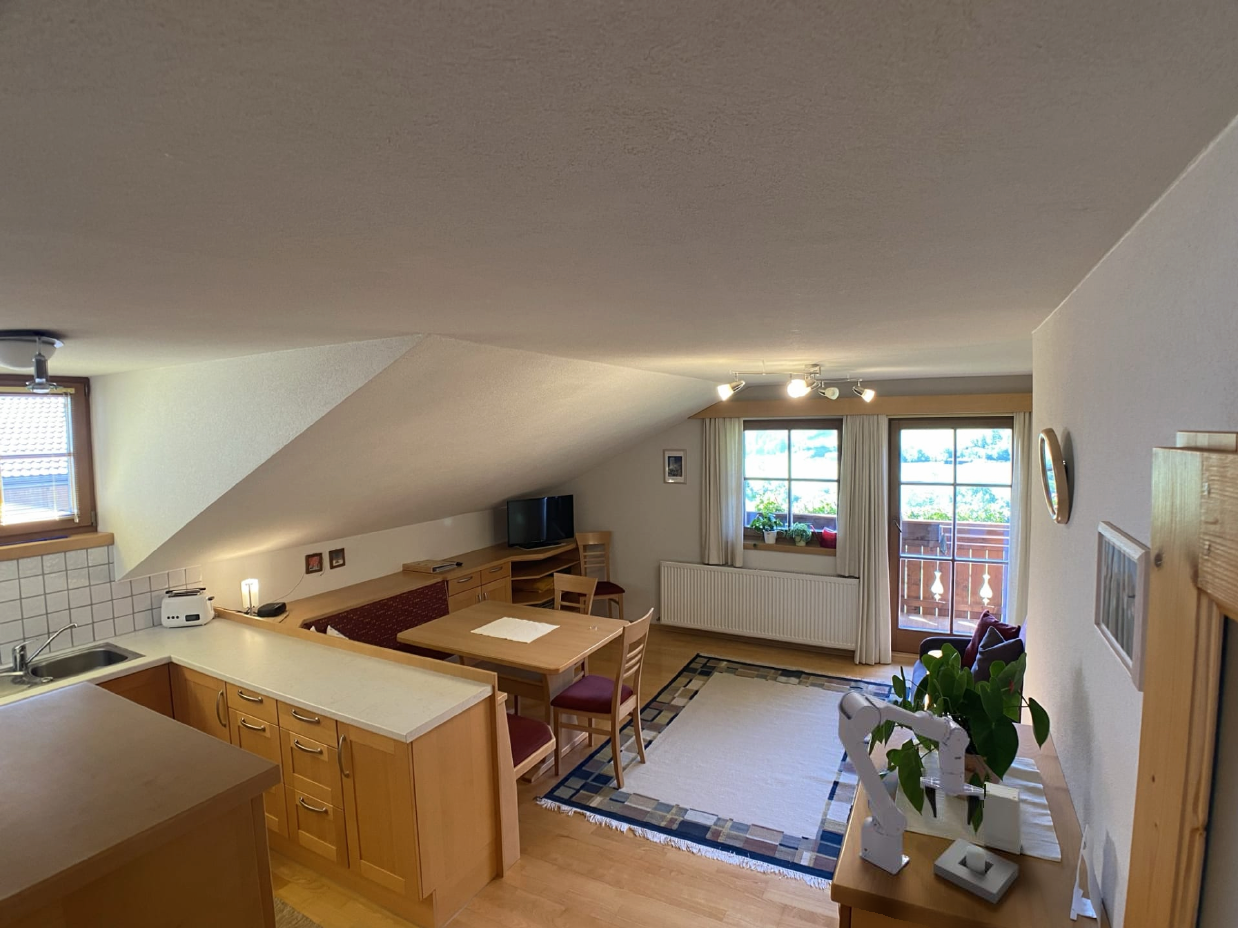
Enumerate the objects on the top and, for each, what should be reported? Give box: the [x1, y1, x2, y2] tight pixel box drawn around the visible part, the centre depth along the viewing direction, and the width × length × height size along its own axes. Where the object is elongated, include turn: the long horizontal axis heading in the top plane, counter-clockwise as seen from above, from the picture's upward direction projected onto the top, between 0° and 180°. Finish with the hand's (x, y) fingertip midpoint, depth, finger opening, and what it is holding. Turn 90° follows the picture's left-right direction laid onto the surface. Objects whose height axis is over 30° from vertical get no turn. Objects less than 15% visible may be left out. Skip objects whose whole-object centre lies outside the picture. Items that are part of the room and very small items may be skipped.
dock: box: [933, 837, 1019, 905], centre depth 160 cm, size 14×14×2 cm
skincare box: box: [982, 781, 1022, 855], centre depth 169 cm, size 8×6×15 cm
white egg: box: [965, 844, 986, 876], centre depth 159 cm, size 4×4×6 cm
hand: (951, 818), depth 166 cm, fingers open, 7 cm apart
